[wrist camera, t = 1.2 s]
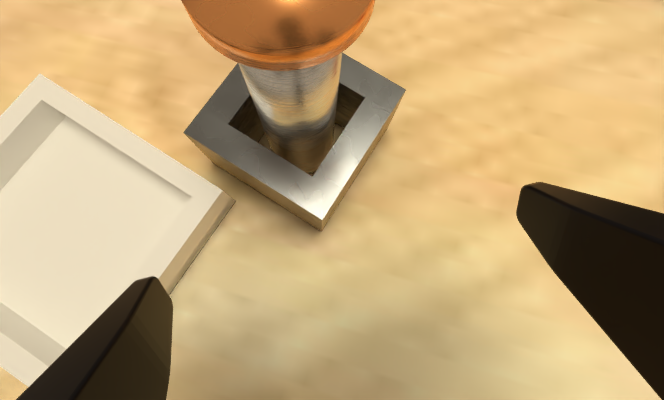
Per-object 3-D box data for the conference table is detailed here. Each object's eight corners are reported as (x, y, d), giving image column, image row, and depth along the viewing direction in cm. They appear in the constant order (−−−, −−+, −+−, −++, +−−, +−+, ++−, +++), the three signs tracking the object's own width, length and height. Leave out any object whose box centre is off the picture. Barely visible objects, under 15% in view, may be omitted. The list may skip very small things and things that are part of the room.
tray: (101, 390, 19) (62, 411, 16) (-72, 266, 20) (-139, 265, 17) (235, 201, 22) (222, 190, 19) (75, 98, 23) (39, 73, 20)
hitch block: (321, 231, 22) (322, 219, 17) (213, 163, 22) (183, 132, 17) (387, 127, 23) (405, 89, 18) (284, 66, 24) (276, 14, 19)
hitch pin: (314, 201, 22) (308, 87, 8) (243, 156, 22) (124, -23, 9) (359, 133, 23) (419, -68, 9) (290, 92, 23) (251, -159, 10)
